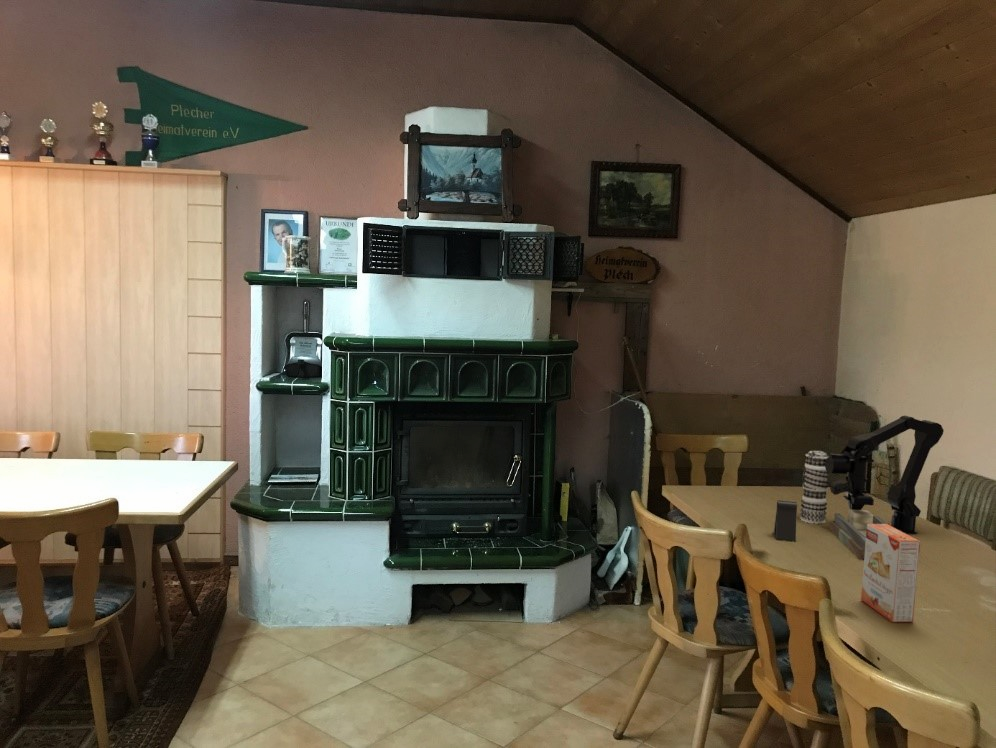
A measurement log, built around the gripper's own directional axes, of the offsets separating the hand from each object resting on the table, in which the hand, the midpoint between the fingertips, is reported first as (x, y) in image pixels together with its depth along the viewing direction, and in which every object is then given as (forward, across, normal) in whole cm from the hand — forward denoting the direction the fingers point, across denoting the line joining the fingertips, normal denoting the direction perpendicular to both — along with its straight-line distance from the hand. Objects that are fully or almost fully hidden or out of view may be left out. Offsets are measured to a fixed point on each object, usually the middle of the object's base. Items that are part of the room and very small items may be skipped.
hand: (853, 518), depth 264 cm
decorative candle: (+4, -8, -11) cm, 15 cm away
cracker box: (+4, +74, -14) cm, 75 cm away
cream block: (+1, +6, 0) cm, 7 cm away
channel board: (+4, +16, 0) cm, 17 cm away
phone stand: (+4, +15, -26) cm, 30 cm away
